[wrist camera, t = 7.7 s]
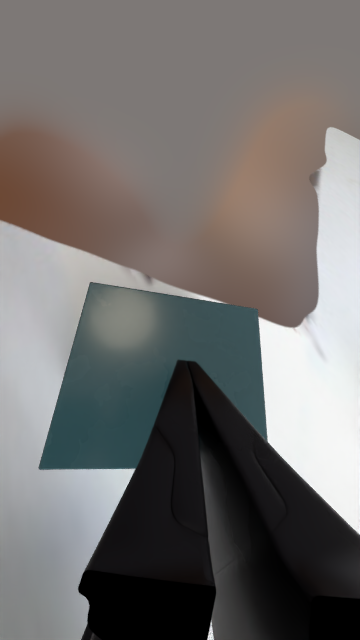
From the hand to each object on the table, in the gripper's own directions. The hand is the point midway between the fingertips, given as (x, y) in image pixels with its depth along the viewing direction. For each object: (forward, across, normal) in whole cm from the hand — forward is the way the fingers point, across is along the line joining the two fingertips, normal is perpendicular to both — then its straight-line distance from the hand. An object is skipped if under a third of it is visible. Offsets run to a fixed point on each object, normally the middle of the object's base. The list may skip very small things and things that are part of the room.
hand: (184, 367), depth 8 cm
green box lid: (+2, 0, +2) cm, 3 cm away
